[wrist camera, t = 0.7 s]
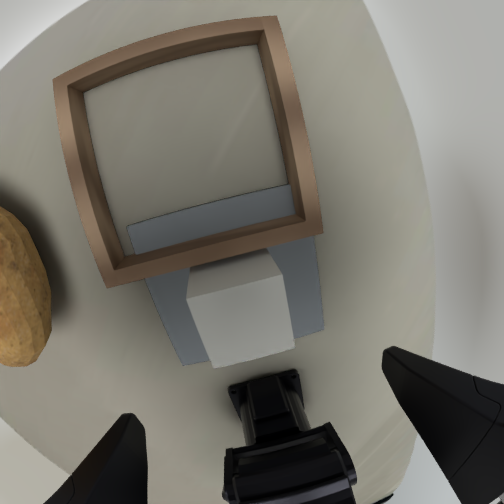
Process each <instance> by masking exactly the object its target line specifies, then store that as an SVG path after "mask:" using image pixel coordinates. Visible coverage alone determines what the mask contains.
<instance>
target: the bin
mask: <svg viewBox="0 0 504 504" xmlns="http://www.w3.org/2000/svg"><path fill="white" fill-rule="evenodd" d="M253 44H257V46H258V49H259V53H260V57H261V61H262V65H263V69H264V73H265V77H266V81H267V85H268V89H269V93H270V98H271V102H272V106H273V111H274V115H275V120H276V124H277V129H278V133H279V138H280V143H281V147H282V152H283V157H284V162H285V167H286V172H287V177H288V183H289V184H290V185H291V190H292V196H293V201H294V207H295V212H296V214H294V215H289V216H285V217H281V218H277V219H273V220H268V221H264V222H260V223H256V224H252V225H248V226H244V227H240V228H236V229H232V230H228V231H224V232H220V233H216V234H212V235H209V236H205V237H201V238H197V239H193V240H189V241H186V242H182V243H178V244H174V245H171V246H167V247H163V248H160V249H156V250H152V251H149V252H145V253H141V254H138V255H136V254H132V255H129V256H124V254H123V251H122V248H121V245H120V242H119V239H118V236H117V233H116V230H115V227H114V224H113V221H112V218H111V215H110V211H109V208H108V205H107V201H106V198H105V194H104V191H103V187H102V183H101V180H100V176H99V172H98V168H97V164H96V160H95V155H94V151H93V146H92V142H91V137H90V132H89V127H88V121H87V116H86V110H85V103H84V97H83V92H85V91H88V90H90V89H92V88H94V87H97V86H99V85H101V84H104V83H106V82H109V81H111V80H114V79H116V78H119V77H121V76H124V75H127V74H130V73H132V72H135V71H138V70H141V69H144V68H147V67H151V66H154V65H157V64H160V63H164V62H167V61H171V60H175V59H179V58H183V57H187V56H191V55H195V54H200V53H204V52H209V51H215V50H220V49H226V48H232V47H238V46H246V45H253ZM53 89H54V98H55V106H56V114H57V120H58V126H59V132H60V138H61V143H62V148H63V153H64V158H65V162H66V167H67V171H68V175H69V179H70V183H71V187H72V191H73V194H74V198H75V201H76V205H77V208H78V211H79V215H80V218H81V221H82V224H83V227H84V230H85V233H86V236H87V239H88V242H89V245H90V247H91V250H92V253H93V255H94V258H95V261H96V263H97V266H98V268H99V271H100V273H101V276H102V278H103V281H104V283H105V285H106V288H110V287H114V286H118V285H122V284H126V283H130V282H134V281H138V280H142V279H146V278H150V277H153V276H157V275H161V274H165V273H169V272H173V271H177V270H181V269H185V268H189V267H193V266H196V265H200V264H204V263H208V262H212V261H216V260H220V259H224V258H228V257H232V256H236V255H240V254H244V253H247V252H251V251H255V250H259V249H263V248H267V247H271V246H275V245H279V244H283V243H287V242H291V241H295V240H298V239H302V238H306V237H310V236H314V235H318V234H322V233H323V225H322V218H321V211H320V204H319V198H318V192H317V185H316V179H315V174H314V168H313V162H312V157H311V152H310V146H309V141H308V136H307V131H306V127H305V122H304V117H303V113H302V108H301V104H300V99H299V95H298V91H297V87H296V83H295V79H294V75H293V71H292V67H291V63H290V59H289V56H288V52H287V48H286V45H285V41H284V38H283V34H282V31H281V28H280V24H279V21H278V18H277V16H263V17H251V18H242V19H234V20H227V21H220V22H214V23H209V24H203V25H198V26H193V27H189V28H184V29H180V30H176V31H172V32H168V33H165V34H161V35H158V36H154V37H151V38H148V39H144V40H141V41H138V42H135V43H132V44H130V45H127V46H124V47H121V48H119V49H116V50H113V51H111V52H108V53H106V54H104V55H101V56H99V57H97V58H94V59H92V60H90V61H88V62H85V63H83V64H81V65H79V66H77V67H75V68H73V69H71V70H69V71H67V72H65V73H63V74H61V75H60V76H58V77H56V78H54V79H53Z"/></svg>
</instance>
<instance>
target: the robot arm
mask: <svg viewBox="0 0 504 504" xmlns="http://www.w3.org/2000/svg"><path fill="white" fill-rule="evenodd" d="M382 370H383V373H384V375H385V377H386V379H387V381H388V383H389V385H390V387H391V389H392V391H393V393H394V395H395V397H396V399H397V400H398V402H399V404H400V406H401V407H402V409H403V410H404V412H405V413H406V415H407V416H408V418H409V419H410V421H411V422H412V424H413V426H414V427H415V429H416V430H417V432H418V433H419V435H420V436H421V438H422V439H423V441H424V443H425V444H426V446H427V447H428V449H429V450H430V452H431V454H432V455H433V457H434V458H435V460H436V462H437V463H438V465H439V467H440V468H441V470H442V471H443V473H444V475H445V476H446V478H447V480H449V483H450V485H451V487H452V488H453V490H454V492H455V493H456V495H457V497H458V499H459V500H460V502H461V504H489V503H491V502H492V501H493V500H495V499H496V498H498V497H499V498H500V499H501V500H500V501H499V502H498V503H497V504H504V384H500V383H496V382H492V381H489V380H486V379H482V378H480V377H477V376H472V375H471V374H468V373H465V372H462V371H460V370H457V369H454V368H451V367H449V366H446V365H443V364H441V363H438V362H435V361H432V360H430V359H427V358H425V357H422V356H419V355H417V354H414V353H411V352H409V351H406V350H404V349H401V348H398V347H396V346H391V347H389V348H387V349H385V350H384V351H383V357H382ZM292 375H293V376H292ZM233 390H235V391H233ZM228 393H229V396H230V398H231V400H232V402H233V405H234V407H235V409H236V411H237V413H238V416H239V418H240V420H241V422H242V425H243V431H244V437H245V443H246V446H244V447H239V448H228V449H226V456H225V457H224V486H223V491H222V497H223V499H224V500H226V501H227V502H229V504H356V502H355V498H354V495H353V491H352V487H351V486H353V485H355V484H356V483H357V476H356V471H355V468H354V465H353V462H352V459H351V457H350V455H349V453H348V451H347V449H346V448H345V446H344V444H343V443H342V441H341V439H340V438H339V436H338V434H337V433H336V431H335V429H334V428H333V426H332V424H331V423H330V422H328V423H325V424H324V425H322V426H319V427H316V428H313V429H311V427H310V424H309V421H308V419H307V416H306V414H305V411H304V403H303V397H302V390H301V384H300V378H299V374H298V372H297V371H296V370H291V371H288V372H284V373H281V374H277V375H273V376H270V377H266V378H262V379H258V380H254V381H250V382H246V383H242V384H237V385H233V386H230V387H229V388H228ZM147 481H148V463H147V450H146V436H145V428H144V426H143V425H142V423H141V422H140V421H139V420H138V418H137V417H136V416H135V415H134V414H133V413H124V414H122V415H121V416H120V417H119V418H118V420H117V421H116V422H115V423H114V424H113V426H112V427H111V428H110V429H109V430H108V432H107V433H106V434H105V435H104V436H103V437H102V439H101V440H100V441H99V442H98V443H97V445H96V446H95V447H94V448H93V449H92V451H91V452H90V453H89V454H88V455H87V457H86V458H85V459H84V460H83V461H82V462H81V464H80V465H79V466H78V467H77V468H76V470H75V471H74V472H73V473H72V475H70V477H69V478H68V479H67V480H66V481H65V482H64V484H63V485H62V486H61V487H60V488H59V489H58V490H57V491H56V492H55V493H54V494H53V495H52V496H51V497H50V498H49V499H48V500H47V501H46V502H45V503H43V504H147Z"/></svg>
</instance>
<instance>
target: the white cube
mask: <svg viewBox="0 0 504 504" xmlns="http://www.w3.org/2000/svg"><path fill="white" fill-rule="evenodd" d="M186 300H187V303H188V306H189V308H190V311H191V314H192V316H193V319H194V321H195V324H196V327H197V329H198V332H199V334H200V337H201V339H202V342H203V344H204V347H205V349H206V352H207V354H208V357H209V359H210V361H211V364H212V366H213V368H214V369H215V368H220V367H224V366H229V365H233V364H237V363H241V362H245V361H249V360H253V359H257V358H261V357H265V356H269V355H272V354H276V353H280V352H283V351H287V350H290V349H293V348H295V343H294V337H293V331H292V325H291V319H290V314H289V308H288V302H287V297H286V291H285V286H284V280H283V275H282V273H281V271H280V270H279V268H278V266H277V265H276V263H275V261H274V260H273V258H272V257H271V255H270V253H269V252H268V250H267V248H263V249H259V250H255V251H251V252H247V253H244V254H240V255H236V256H232V257H228V258H224V259H220V260H216V261H212V262H208V263H204V264H200V265H196V266H193V267H190V273H189V280H188V287H187V295H186Z"/></svg>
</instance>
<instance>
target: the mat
mask: <svg viewBox="0 0 504 504" xmlns="http://www.w3.org/2000/svg"><path fill="white" fill-rule="evenodd" d="M294 214H296V212H295V207H294V201H293V196H292V190H291V185H290V184H286V185H282V186H277V187H272V188H268V189H264V190H259V191H255V192H250V193H246V194H242V195H238V196H234V197H230V198H226V199H222V200H218V201H214V202H210V203H206V204H202V205H198V206H194V207H191V208H187V209H183V210H180V211H176V212H172V213H169V214H165V215H162V216H158V217H155V218H152V219H148V220H145V221H141V222H138V223H135V224H132V225H128V226H127V230H128V233H129V236H130V239H131V242H132V245H133V248H134V251H135V254H136V255H138V254H141V253H145V252H149V251H152V250H156V249H160V248H163V247H167V246H171V245H174V244H178V243H182V242H186V241H189V240H193V239H197V238H201V237H205V236H209V235H212V234H216V233H220V232H224V231H228V230H232V229H236V228H240V227H244V226H248V225H252V224H256V223H260V222H264V221H268V220H273V219H277V218H281V217H285V216H289V215H294ZM267 250H268V252H269V253H270V255H271V257H272V258H273V260H274V261H275V263H276V265H277V266H278V268H279V270H280V271H281V273H282V275H283V280H284V286H285V291H286V297H287V302H288V308H289V314H290V319H291V325H292V331H293V337H294V339H295V338H299V337H302V336H305V335H309V334H312V333H315V332H318V331H321V330H324V320H323V310H322V300H321V291H320V282H319V273H318V265H317V258H316V250H315V243H314V236H310V237H306V238H302V239H298V240H295V241H291V242H287V243H283V244H279V245H275V246H271V247H267ZM189 273H190V267H189V268H185V269H181V270H177V271H173V272H169V273H165V274H161V275H157V276H153V277H150V278H146V279H145V281H146V284H147V286H148V289H149V291H150V294H151V296H152V299H153V301H154V304H155V306H156V308H157V311H158V313H159V315H160V318H161V320H162V322H163V325H164V327H165V329H166V331H167V334H168V336H169V338H170V340H171V342H172V344H173V347H174V349H175V351H176V353H177V355H178V357H179V359H180V361H181V363H182V365H183V366H185V365H190V364H195V363H200V362H205V361H209V360H210V359H209V357H208V354H207V352H206V349H205V347H204V344H203V342H202V339H201V337H200V334H199V332H198V329H197V327H196V324H195V321H194V319H193V316H192V314H191V311H190V308H189V306H188V303H187V300H186V295H187V287H188V280H189Z"/></svg>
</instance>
